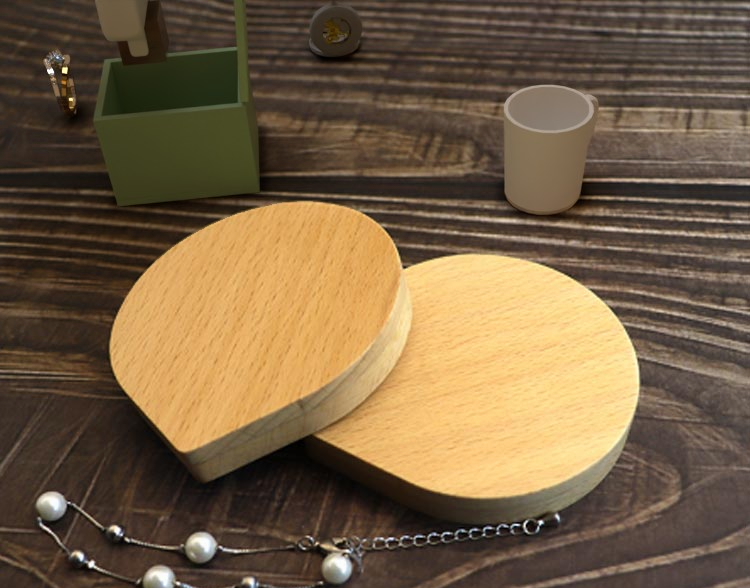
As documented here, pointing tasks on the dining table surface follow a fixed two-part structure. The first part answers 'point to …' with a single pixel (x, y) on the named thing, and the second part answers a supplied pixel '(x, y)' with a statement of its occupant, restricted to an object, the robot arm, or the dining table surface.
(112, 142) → the chest
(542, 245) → the dining table surface
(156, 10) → the block
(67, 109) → the ring
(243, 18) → the lid
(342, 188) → the dining table surface
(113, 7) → the robot arm
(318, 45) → the pocket watch
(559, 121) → the mug
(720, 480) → the dining table surface
